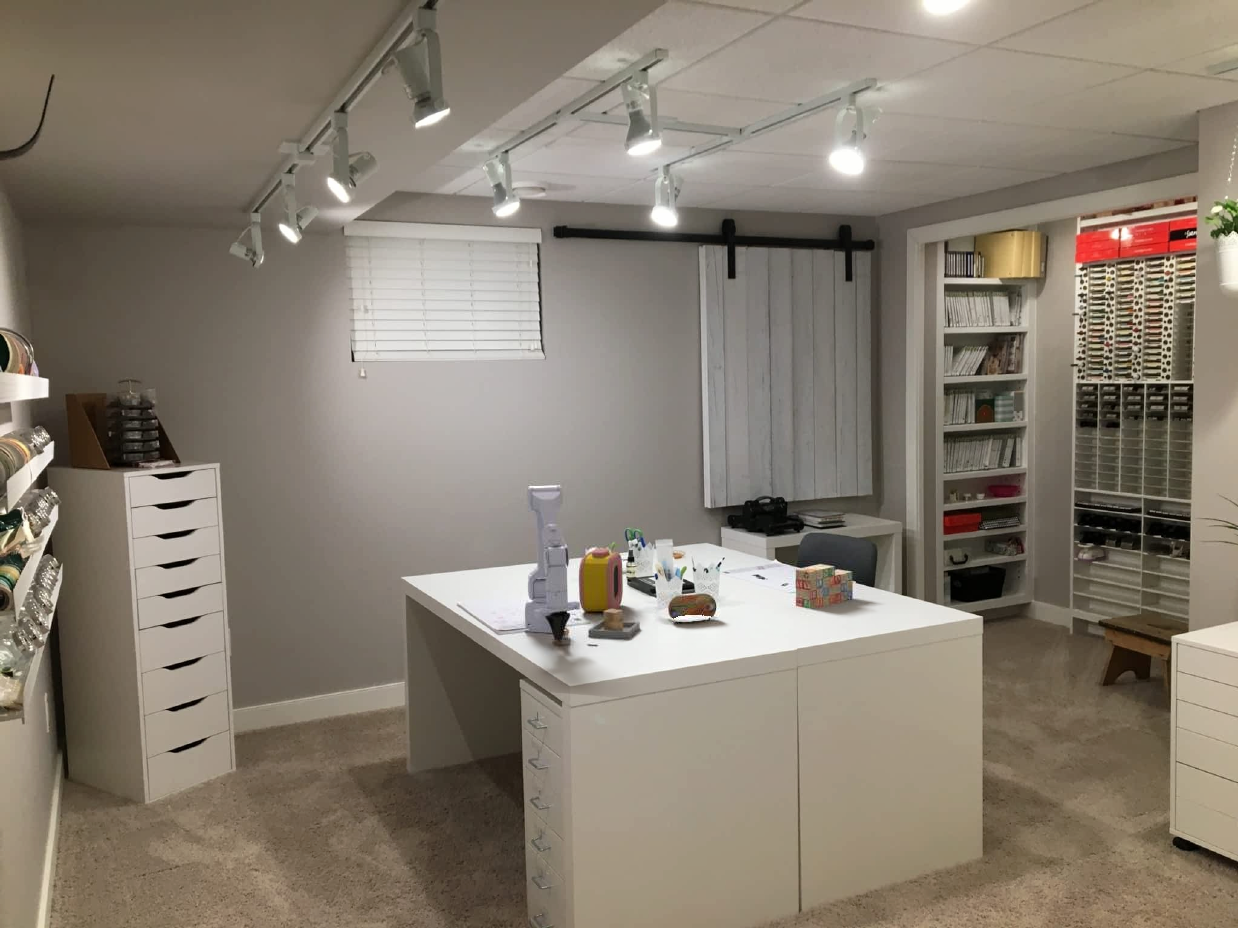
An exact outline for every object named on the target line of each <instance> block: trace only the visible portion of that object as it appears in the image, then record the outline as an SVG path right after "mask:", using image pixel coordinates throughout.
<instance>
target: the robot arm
mask: <svg viewBox="0 0 1238 928" xmlns="http://www.w3.org/2000/svg"><path fill="white" fill-rule="evenodd" d="M563 496H564V495H563V487H562V486H561V485H560V484H557V485H536V486H535V485H533V486H532V485H529V486H528V487H527V492H526V497H527V498H526V499H527V510H528V512H529V513H531V514H532V513H533V514H534V518H535V522H536V523H535V529H536V534H535V535H536V559H537V561H536V563H537V565H536V568H534V569H533V570H532V571H531V572H529V574H528V578H527V579H528V581H527V593H528V598H529V599H528V600H527V601H526V603H525V608H524V625H525V626H524V627H525V628H527V629H529V630H526V631H525V632H528V633H529V632H530V633H531V632H532V633H545V634H546V633H549V634H552V635H553V636H552V637H553V639H555V640H562V638H563V634H564V630H565V628H566V626H567V623H568V621H569V619H570V618H571V613H570V612H569V611H573V610H577V611H578V610H580V609H581V604H580V601H570V602H568V599H569V598H568V593H569V592H568V567H569V564H570V554H569V553H570V552H569V547H568V546H567V543H566V542H565V538H564V533H563V529H562V527H561V526H559V525H558V517H557V515H558V514H557V512H558V511H559V510H560V508H561V506H562V505H563V501H564V499H563V498H564V497H563ZM529 625H530V626H529ZM525 628H524V629H525Z"/></svg>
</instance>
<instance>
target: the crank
mask: <svg viewBox="0 0 1238 928" xmlns="http://www.w3.org/2000/svg"><path fill="white" fill-rule="evenodd" d="M569 634H570V629H569V628H568V627H565V630H564V634H563V638H562V640H560V641H561V642H562V644H569V639H568V638H569ZM569 645H570V644H569Z"/></svg>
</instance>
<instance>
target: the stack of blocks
mask: <svg viewBox="0 0 1238 928" xmlns="http://www.w3.org/2000/svg"><path fill="white" fill-rule="evenodd" d="M853 582H854V581H853V571H850V570H842V569H836V566H833V565H828V564H823V563H818V564H815V565H814V564H813V565H810V566H805V567H801V568H796V569H795V606H796V607H801V608H805V609H810V610H812V609H816V608H821V607H825V606H828V605H827V604H829V605H832V604H831V603H833V604H837V603H839V602H838V601H840V602H844V601H843V600H845V601H848V600H847V599H849V598H853V597H854V596H853V595H854V594H853V589H854V588H853V587H854V586H853ZM849 600H850V599H849ZM836 602H837V603H836ZM820 606H821V607H820ZM815 607H816V608H815Z"/></svg>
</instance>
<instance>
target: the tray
mask: <svg viewBox="0 0 1238 928" xmlns="http://www.w3.org/2000/svg"><path fill="white" fill-rule="evenodd" d="M640 625H641V624H640V622H639V621H624V620H623V631H612V630H604V619H602V620H599V621H598V622H597V623H596V624H594V625H593V626H592V627H590V628H588V629H587V630H588V633H587V635H588V637H589V638H603V639H605V638H606V639H607V638H608V639H619V640H621V639H623V640H629V639H630V638H631V637H632V636H633V635H635V634H636V633H637V632H638V631H639V630H640V629H641V627H640Z"/></svg>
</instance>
